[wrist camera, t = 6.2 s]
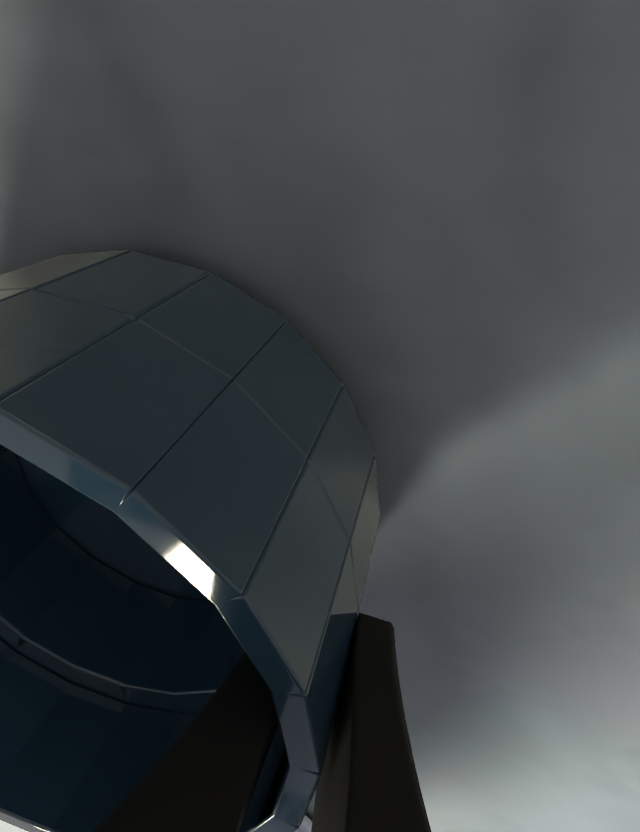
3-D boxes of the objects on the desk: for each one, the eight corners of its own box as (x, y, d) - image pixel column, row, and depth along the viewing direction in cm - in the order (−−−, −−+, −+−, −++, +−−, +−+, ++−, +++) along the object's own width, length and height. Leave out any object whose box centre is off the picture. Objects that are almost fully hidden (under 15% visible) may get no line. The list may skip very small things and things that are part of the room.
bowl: (128, 630, 18) (-19, 850, 13) (-92, 339, 14) (-438, 477, 9) (445, 587, 14) (428, 890, 8) (253, 153, 10) (-7, 197, 5)
